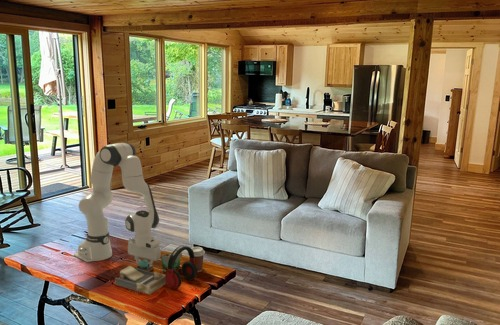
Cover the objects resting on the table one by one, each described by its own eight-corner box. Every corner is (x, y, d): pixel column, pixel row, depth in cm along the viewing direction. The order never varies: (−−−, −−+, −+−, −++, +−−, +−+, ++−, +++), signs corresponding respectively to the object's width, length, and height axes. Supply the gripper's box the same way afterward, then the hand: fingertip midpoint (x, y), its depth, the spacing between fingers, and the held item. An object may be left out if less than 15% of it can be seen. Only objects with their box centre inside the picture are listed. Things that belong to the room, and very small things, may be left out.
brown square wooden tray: (134, 271, 216) (134, 267, 216) (143, 266, 222) (143, 262, 222) (144, 274, 213) (144, 270, 213) (153, 268, 219) (153, 265, 219)
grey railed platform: (115, 284, 201) (114, 278, 201) (134, 273, 214) (134, 267, 213) (136, 290, 195) (136, 284, 195) (155, 279, 208) (155, 273, 207)
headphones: (177, 293, 194) (176, 255, 190) (162, 287, 199) (161, 250, 195) (200, 279, 208) (200, 243, 205) (185, 274, 214) (185, 239, 210)
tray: (136, 290, 195) (136, 283, 195) (155, 279, 208) (154, 271, 207) (149, 294, 192) (149, 287, 191) (167, 282, 204) (167, 275, 204)
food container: (164, 276, 211) (164, 258, 209) (160, 272, 216) (159, 254, 214) (185, 271, 218) (185, 253, 216) (181, 266, 223) (181, 250, 221)
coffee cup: (198, 274, 214) (198, 253, 211) (184, 270, 218) (184, 250, 216) (208, 268, 221) (208, 248, 219) (195, 264, 226) (194, 244, 224)
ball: (137, 269, 216) (137, 260, 215) (143, 265, 221) (143, 257, 220) (144, 271, 214) (144, 262, 213) (150, 267, 219) (150, 258, 218)
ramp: (120, 277, 204) (119, 270, 203) (129, 272, 210) (129, 265, 209) (135, 282, 200) (134, 274, 199) (144, 276, 206) (144, 269, 205)
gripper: (124, 239, 216) (125, 263, 219) (154, 246, 208) (155, 270, 210) (132, 235, 222) (133, 258, 224) (162, 242, 213) (162, 266, 216)
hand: (144, 264), depth 217 cm, fingers open, 7 cm apart
